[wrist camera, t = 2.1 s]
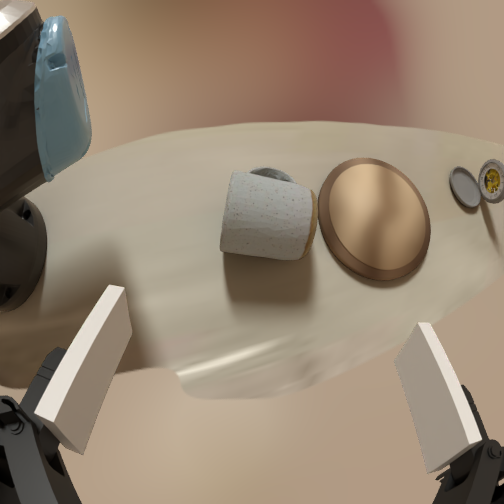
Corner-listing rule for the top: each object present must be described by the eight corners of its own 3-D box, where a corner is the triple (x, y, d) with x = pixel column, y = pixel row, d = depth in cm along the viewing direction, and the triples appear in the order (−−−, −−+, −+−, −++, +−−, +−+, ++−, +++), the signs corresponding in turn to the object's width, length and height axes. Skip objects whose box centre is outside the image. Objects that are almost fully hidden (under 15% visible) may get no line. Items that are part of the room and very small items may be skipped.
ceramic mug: (298, 270, 30) (320, 249, 23) (219, 260, 30) (216, 235, 22) (304, 179, 33) (322, 141, 26) (233, 169, 33) (235, 127, 25)
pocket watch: (441, 177, 35) (482, 143, 25) (464, 160, 37) (500, 129, 27) (470, 225, 34) (517, 200, 24) (490, 202, 35) (530, 178, 26)
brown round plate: (313, 271, 30) (316, 269, 29) (319, 150, 34) (321, 145, 33) (427, 286, 31) (433, 284, 30) (420, 176, 35) (425, 172, 33)
